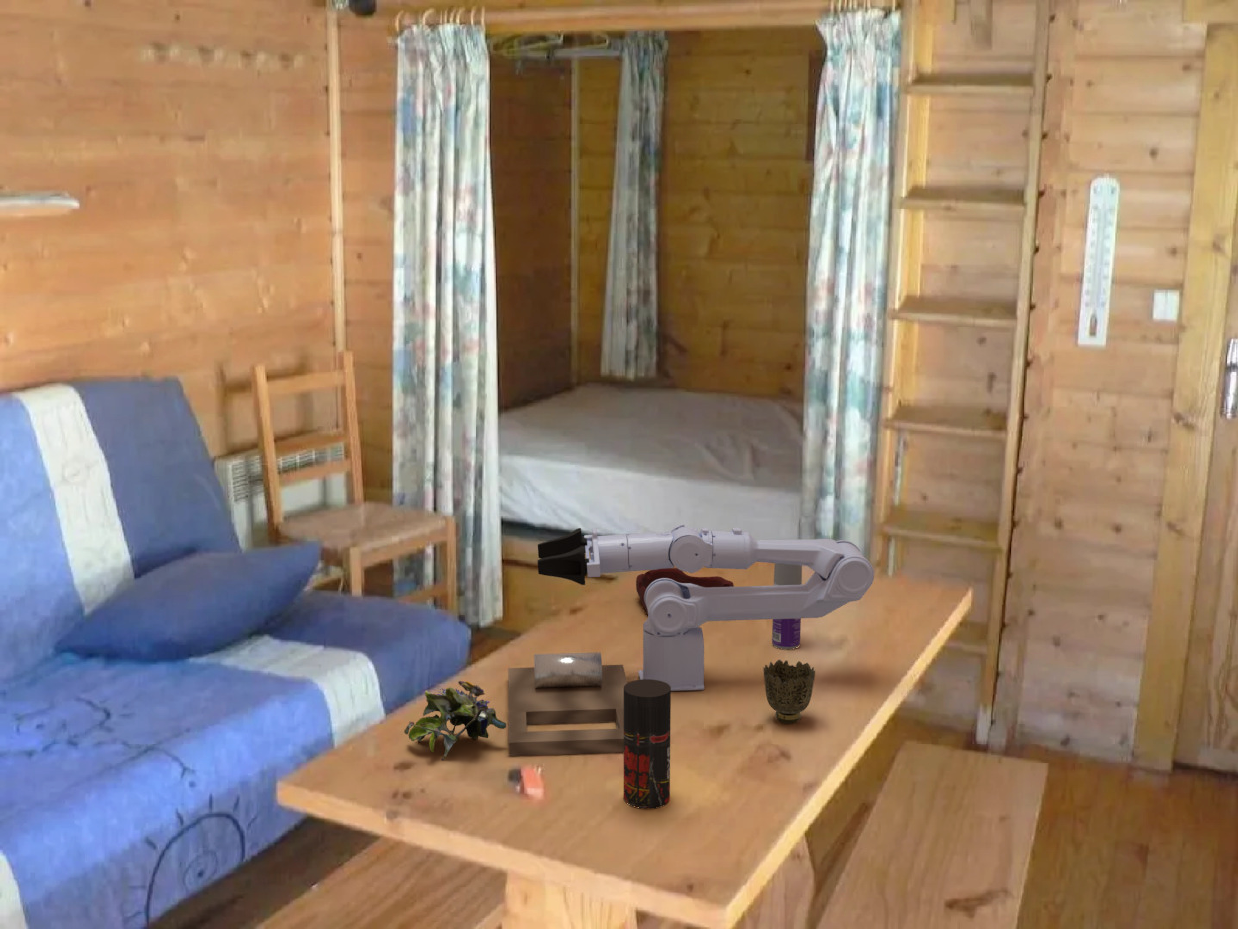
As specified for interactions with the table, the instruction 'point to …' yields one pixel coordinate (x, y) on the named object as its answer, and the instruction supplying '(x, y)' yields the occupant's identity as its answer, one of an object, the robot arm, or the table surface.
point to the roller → (568, 670)
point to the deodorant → (647, 743)
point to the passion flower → (454, 716)
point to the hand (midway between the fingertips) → (537, 558)
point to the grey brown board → (565, 714)
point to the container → (787, 629)
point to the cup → (788, 689)
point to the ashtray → (677, 576)
